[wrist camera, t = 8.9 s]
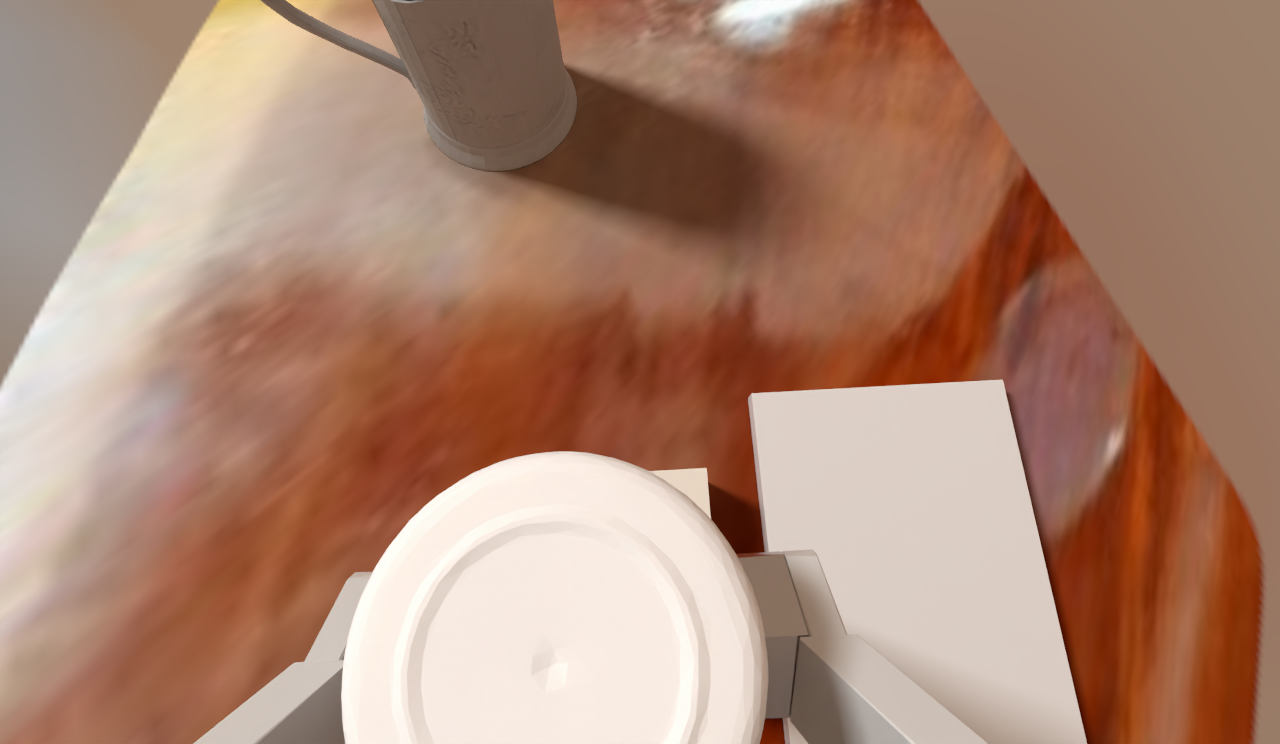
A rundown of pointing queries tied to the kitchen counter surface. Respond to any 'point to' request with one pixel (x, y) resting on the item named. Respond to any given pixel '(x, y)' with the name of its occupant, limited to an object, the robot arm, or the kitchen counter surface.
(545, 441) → the kitchen counter surface
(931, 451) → the white board
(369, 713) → the sprinkles bottle
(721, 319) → the kitchen counter surface
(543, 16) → the grey ceramic mug
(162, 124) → the kitchen counter surface
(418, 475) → the kitchen counter surface
